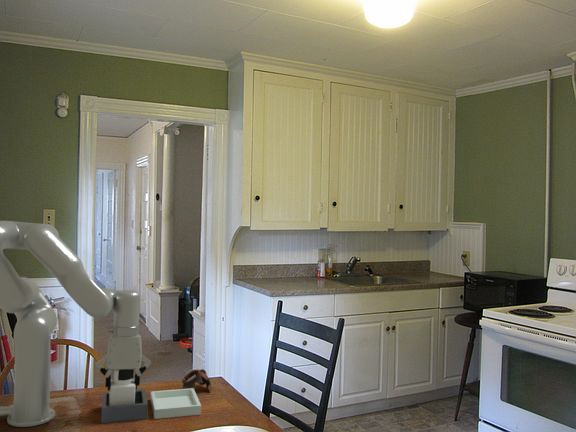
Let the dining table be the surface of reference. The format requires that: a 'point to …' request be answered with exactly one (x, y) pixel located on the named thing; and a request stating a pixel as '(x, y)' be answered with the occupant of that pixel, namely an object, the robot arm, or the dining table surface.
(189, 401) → the tray
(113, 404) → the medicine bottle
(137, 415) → the holder
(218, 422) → the dining table surface
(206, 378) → the broken pottery ring
